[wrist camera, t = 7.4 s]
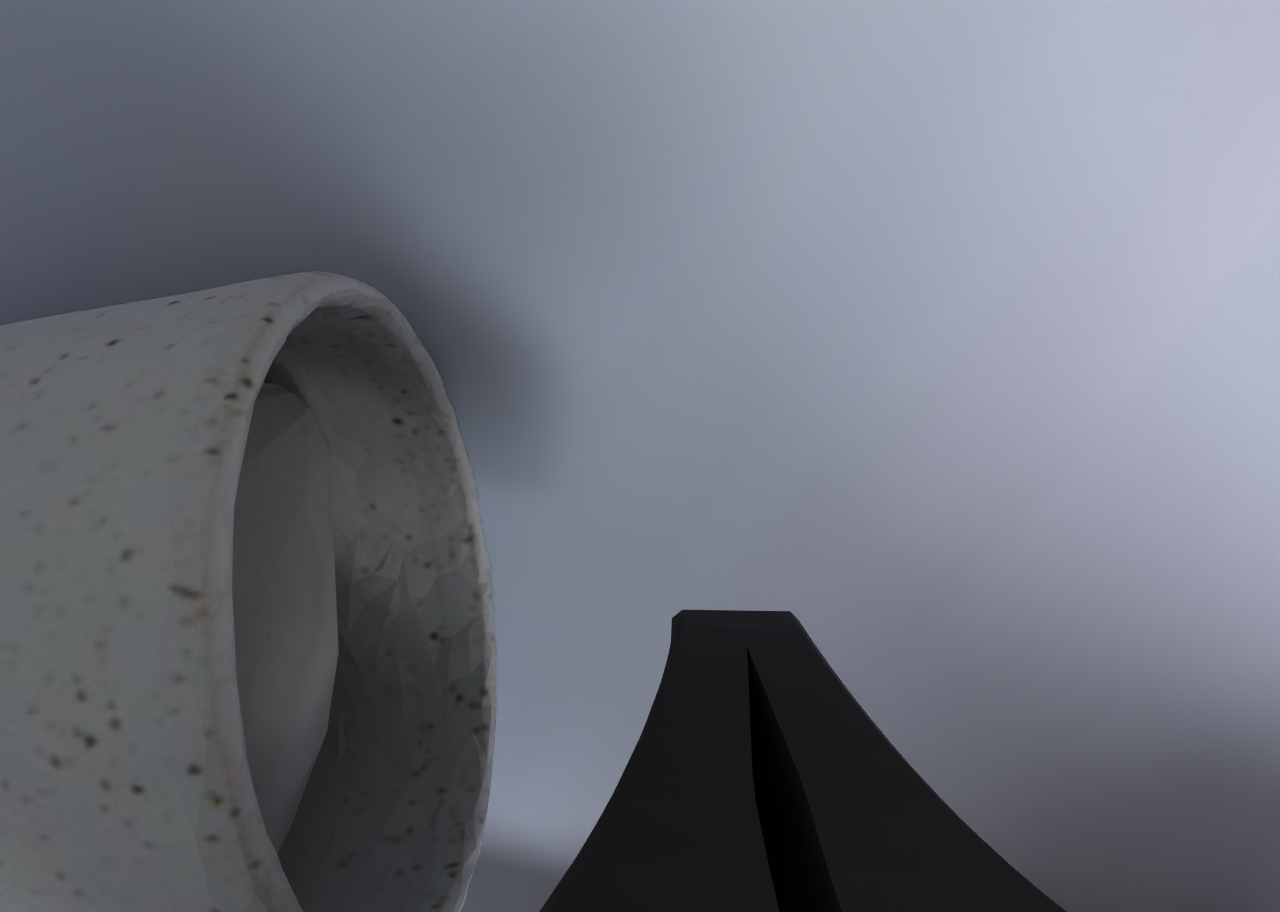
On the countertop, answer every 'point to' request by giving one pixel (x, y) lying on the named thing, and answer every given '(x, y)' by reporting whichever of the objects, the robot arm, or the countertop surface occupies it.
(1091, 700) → the countertop surface
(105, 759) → the ceramic mug
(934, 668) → the countertop surface
